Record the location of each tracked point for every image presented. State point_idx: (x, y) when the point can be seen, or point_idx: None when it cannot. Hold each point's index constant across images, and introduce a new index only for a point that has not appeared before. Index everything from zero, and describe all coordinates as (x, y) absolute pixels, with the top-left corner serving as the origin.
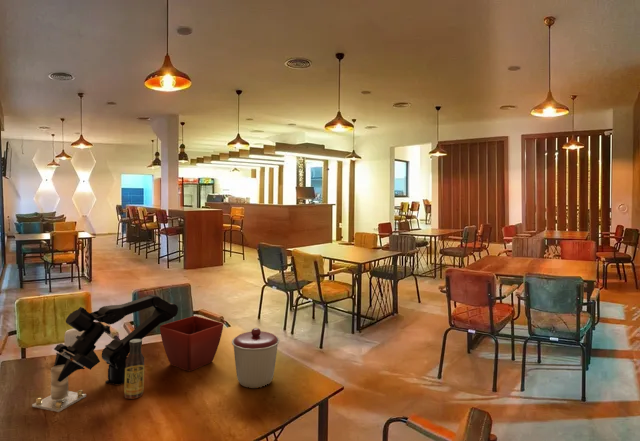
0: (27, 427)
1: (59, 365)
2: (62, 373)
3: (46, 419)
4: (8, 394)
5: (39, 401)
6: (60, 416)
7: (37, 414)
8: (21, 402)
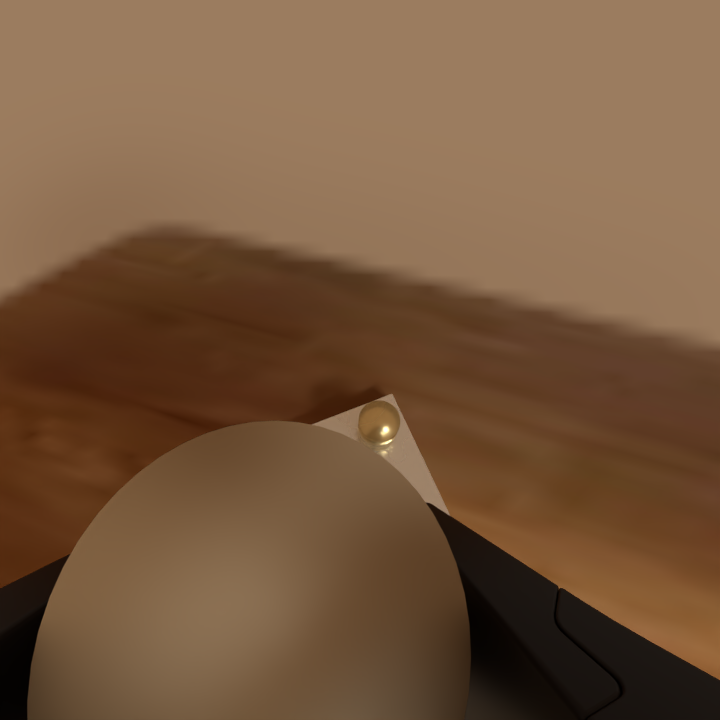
0: (130, 301)
1: (409, 690)
2: (15, 586)
3: (118, 400)
4: (715, 357)
5: (358, 423)
6: (62, 480)
7: (244, 386)
8: (518, 375)
